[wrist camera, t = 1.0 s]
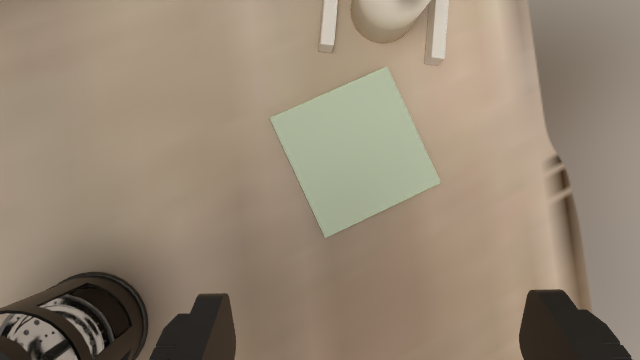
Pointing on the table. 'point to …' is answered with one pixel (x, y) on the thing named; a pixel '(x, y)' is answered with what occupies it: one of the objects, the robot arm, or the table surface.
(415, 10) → the figurine
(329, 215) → the mat
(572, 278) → the table surface
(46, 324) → the french press
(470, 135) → the table surface
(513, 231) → the table surface
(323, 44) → the holder
